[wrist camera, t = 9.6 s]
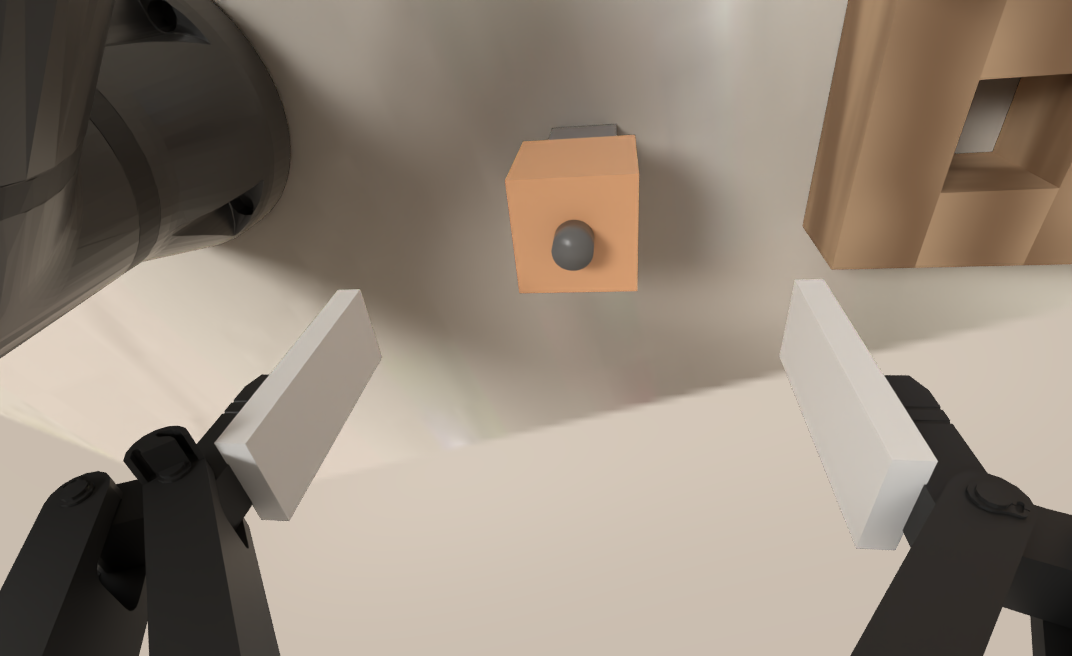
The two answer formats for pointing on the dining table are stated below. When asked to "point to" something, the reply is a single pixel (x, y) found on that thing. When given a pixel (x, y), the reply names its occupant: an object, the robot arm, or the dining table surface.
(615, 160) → the plug
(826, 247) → the socket
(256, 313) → the dining table surface
